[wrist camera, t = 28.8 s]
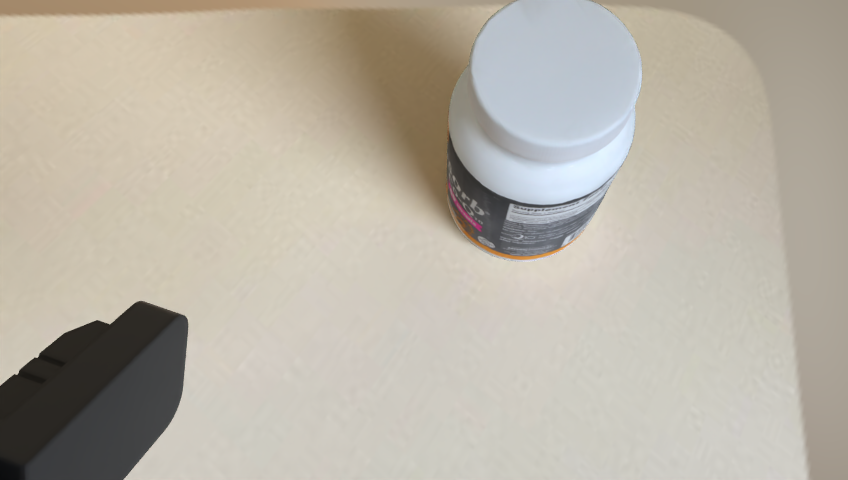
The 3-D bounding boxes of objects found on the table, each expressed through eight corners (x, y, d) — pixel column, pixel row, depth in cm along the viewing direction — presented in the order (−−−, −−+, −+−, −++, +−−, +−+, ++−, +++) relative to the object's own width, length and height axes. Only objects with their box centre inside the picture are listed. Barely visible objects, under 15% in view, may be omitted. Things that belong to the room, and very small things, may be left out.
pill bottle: (429, 149, 31) (422, 1, 22) (567, 113, 32) (619, -49, 22) (470, 284, 30) (482, 186, 20) (615, 243, 30) (694, 130, 20)
